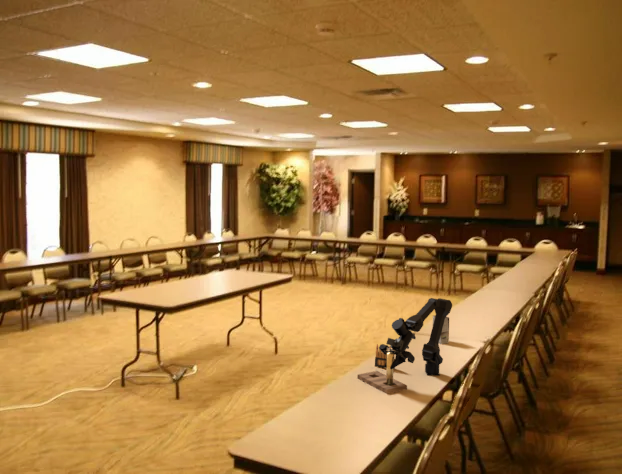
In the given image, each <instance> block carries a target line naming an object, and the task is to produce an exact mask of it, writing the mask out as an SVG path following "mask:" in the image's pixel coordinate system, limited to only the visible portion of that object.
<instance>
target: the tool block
mask: <svg viewBox="0 0 622 474" xmlns="http://www.w3.org/2000/svg"><path fill="white" fill-rule="evenodd" d="M356 376H357V378H356V379H358V380H360V381H361V382H363V383H366V384H368V385H369V386H371V387H373V388H375V389H376V390H379V391H380V392H383V393H384V394H386V395H388V394H392V393H397V392H402V391H405V390H407V389H408V385H407V384H405V383H403V382H400V381H399V380H397V379H394V378H393V385H392V386H387V385H386V374H384V373H382V372H380V371H378V370H375V371H369V372H363V373H358V374H357V375H356Z"/></svg>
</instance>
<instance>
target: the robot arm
mask: <svg viewBox="0 0 622 474" xmlns="http://www.w3.org/2000/svg"><path fill="white" fill-rule="evenodd" d="M452 308H453V303H452V301H451V300H450V299H445V298H441V297H440V298H433V297H430V298H428V300H427V302H426V303H425V304H424V305H423V306H422V307H421V309H419V311H417V312H416V313H415V314H413V315H411V316H409V317H408V318H407V319H406V320H405V319H404V318H401V317H399V318H398V319H395V320H394V321H393V322H392V324H391V328H392V330H394V332H395V333H396V334H397V335H398V338H395V339H394V338H391V337H388V338H387V340H386V344H383V343H380V345H379V346H378V350H379V349H380V350H381V351H382V352H383V354H385V355H386V361H385V367H387V352H392V353H394V359H395V360H394V361H393V363H392V365H391V367H390V369H393V368H396V367H398V366H400V365H401V364H404V363H407V362H408V363H410V364H413V363H414V362H415V359H416V358H415V356H414V355H413V354H412V352H411V351H407V350H409V348H410V347H409V346H410V343H411V341H412V340H416V334H415V333H418V332H420V331H421V329H422V328H423V327H424V322H425V320H426V319H427V318H428V317H429V316H430V315H431V314H432V313H433V311H434V312H435V315H436V316H435V315H434V316H435V320H434V324H433V323H432V328H431V333H430V337H429V340H428V342H426V343H424V344H423V347H422V350H421V354H422V355H421V356H422V360H423V361H425V362H426V363H425V364H424V372H425V374H426V376H441V374H440V365H441V364H442V363H443V361H444V358H443V357H442V356H441V354H440V353H441V349H440V345H439V344H440V343H439V340H440V336H441V332H442V328H443V325H444V321H445V317H448V315H449V314H450V313H451V311H452ZM414 332H415V333H414ZM389 346H390V347H391V349H390V348H389ZM406 360H407V361H406ZM393 370H394V369H393Z"/></svg>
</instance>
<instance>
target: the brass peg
mask: <svg viewBox="0 0 622 474" xmlns="http://www.w3.org/2000/svg"><path fill="white" fill-rule="evenodd" d="M393 359H395V354H394V353H392V352H387V368H386V371H385V373H386V374H385V375H386V385H387V386H392V385H393V379H394V369H390V367H391V365H392V363H393Z"/></svg>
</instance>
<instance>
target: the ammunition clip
mask: <svg viewBox="0 0 622 474" xmlns="http://www.w3.org/2000/svg"><path fill="white" fill-rule="evenodd" d="M388 346H389V348H390V349H392V348H391V347H390V346H391V345H388ZM394 360H395V358H394V359H393V361H394ZM385 361H386V355H385V354H383V352H382V351H381V350H380V349H379V345H378V344H376V349H375V358H374V367H378V368H382V369H387V367H385ZM395 368H396V367H395ZM395 368H393V370H395Z"/></svg>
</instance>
